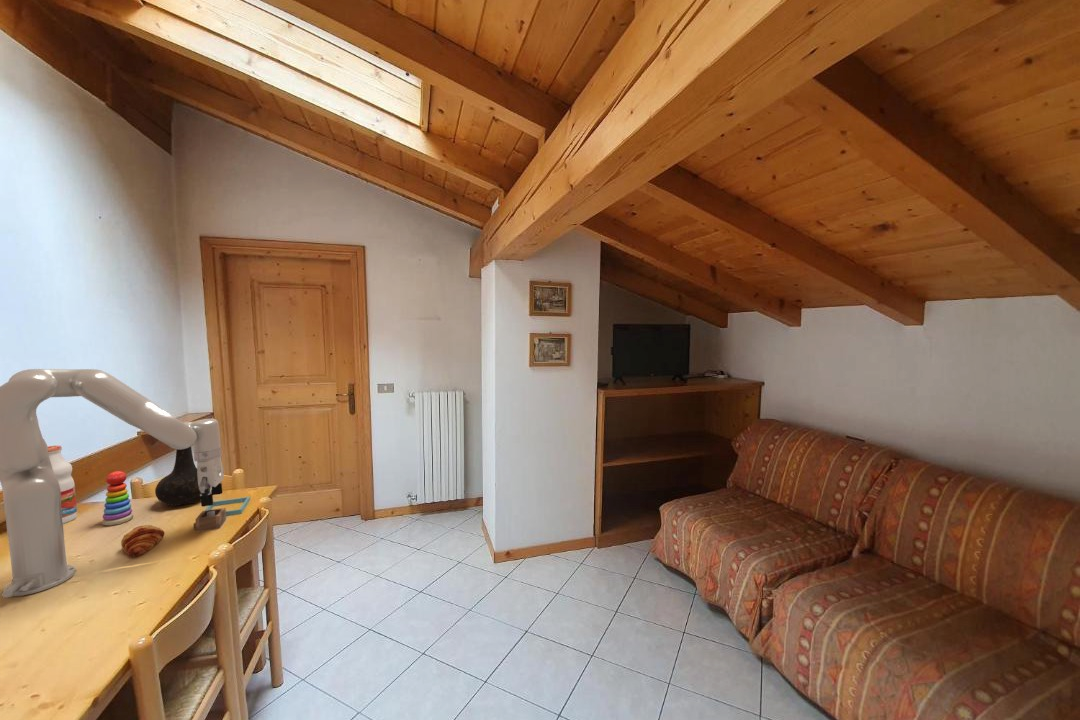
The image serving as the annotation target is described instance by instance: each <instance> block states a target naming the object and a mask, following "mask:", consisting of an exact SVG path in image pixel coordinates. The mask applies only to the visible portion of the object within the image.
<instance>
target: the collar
mask: <svg viewBox="0 0 1080 720" xmlns="http://www.w3.org/2000/svg"><path fill="white" fill-rule="evenodd" d="M209 511H215V515H214V516H207V512H209ZM226 511H227V509H226V507H222V508H212V509H211V510H206V511H204V510H202V511H201V512H200V513H199V515H198V516H196V518H195V522H194V523H193V529H194V530H195V532H196V533H197V531H199V532H205V531H211V530H210V529H212V530H217V528H218V529H221V528H222V527H223V525H224V524H225V523H226V521H227V520H226V517H227V516H226ZM225 520H226V521H225ZM223 523H224V524H223ZM221 526H222V527H221ZM220 527H221V528H220ZM204 530H205V531H204Z"/></svg>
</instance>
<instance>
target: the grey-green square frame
mask: <svg viewBox="0 0 1080 720" xmlns="http://www.w3.org/2000/svg"><path fill="white" fill-rule="evenodd" d="M249 501H251V496H245V497H237V498H229V499H223V500H221V499H220V500H213V505H210V506H206V508H205V509H204V510H203V511H206V510H213V509H214V507H218V506H225V505H231V504H240V503H242V504H241V505H240V508H238V509H230V510H226V517H229V516H235V515H242V514H243V512H244V511H245V509H246V508H247V506H248V505H249V504H250V502H249Z"/></svg>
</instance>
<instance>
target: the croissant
mask: <svg viewBox="0 0 1080 720" xmlns="http://www.w3.org/2000/svg"><path fill="white" fill-rule="evenodd" d="M164 536H165V531H164V529H162V528H160V527H158V526H155V525H150V524H144V525H139V526H137V527H134V528H133V529H132V530H130V531H129V532H127V533H126V534H124V535H123V537H122V539H121V543H120V544H121V548H122V549H123V552H124V553H126V554H127V555H128V556H130V557H139V556H141V555H143V554H145V553H147V552H149V551H151V550H152V549H154V547H156V546H157V545H158V544H159V543H160V541H161V540H162V539H163V538H164Z"/></svg>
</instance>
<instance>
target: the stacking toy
mask: <svg viewBox="0 0 1080 720" xmlns="http://www.w3.org/2000/svg"><path fill="white" fill-rule="evenodd" d="M105 480H106V483H107V484H108V486H107V487H106V491H107V492H106V493H105V496H106V497H105V503H104V509H103V514H102V521H101V523H102V525H103V526H116V525H122V524H123V523H126V522H128V521H131V520H132V519H133V518H134V513H132V512H133V508H132V504H131V500H130V498H129V497H130V494H129V493H128V491H129V490H128V488H127V487H128V486H127V483H125V481H126V480H127V474H126V472H123V471H120V470H117V471H116V470H115V471H112V472H110V473H109V474H108V475H107V476H106V479H105Z"/></svg>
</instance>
